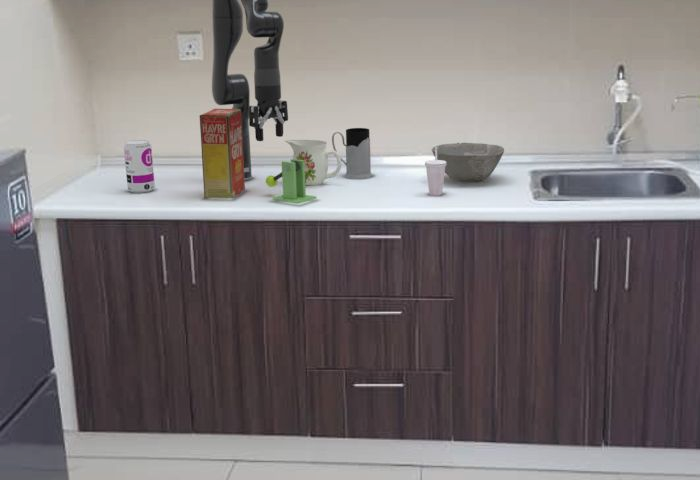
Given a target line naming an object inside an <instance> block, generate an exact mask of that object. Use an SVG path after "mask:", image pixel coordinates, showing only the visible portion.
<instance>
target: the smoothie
mask: <svg viewBox="0 0 700 480" xmlns="http://www.w3.org/2000/svg"><path fill="white" fill-rule="evenodd" d="M434 147H435V146H434ZM424 166H425V169H426V170H425V171H426V178H427V185H428V186H427V187H428V194H429V195H430V196H434V197H435V196H442V194H443V188H444V181H445V174H446V173H445V166H446V161H443V160H437V147H435V156H434V159H430V160H429V159H428V160H426V161H424Z"/></svg>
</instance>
